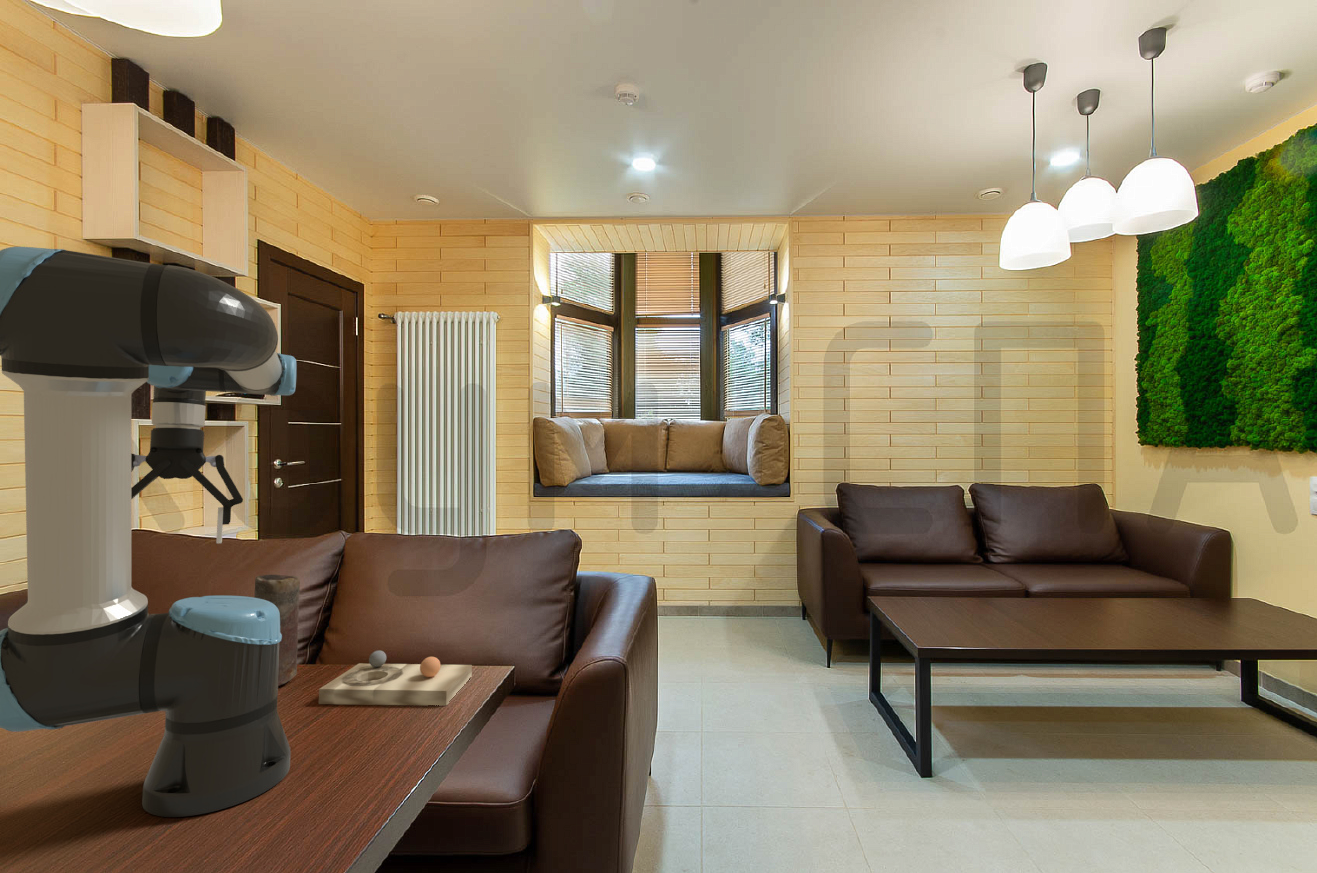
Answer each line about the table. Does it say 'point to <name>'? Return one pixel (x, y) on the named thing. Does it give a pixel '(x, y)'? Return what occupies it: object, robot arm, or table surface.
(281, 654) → the candle
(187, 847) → the table surface
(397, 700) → the board
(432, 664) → the orange ball
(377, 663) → the grey ball
